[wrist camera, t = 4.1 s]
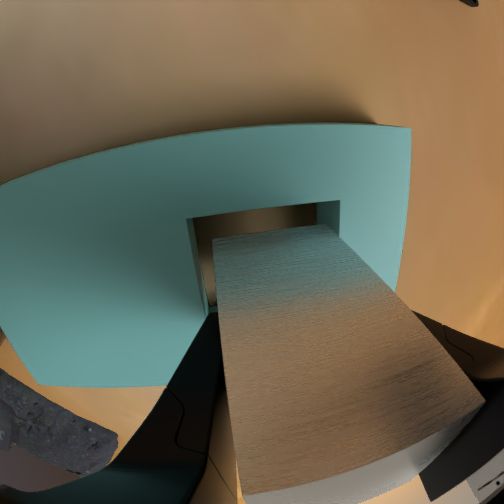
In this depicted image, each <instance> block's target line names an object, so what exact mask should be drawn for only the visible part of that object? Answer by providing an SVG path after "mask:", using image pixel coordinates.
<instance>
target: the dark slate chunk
mask: <svg viewBox="0 0 504 504" xmlns="http://www.w3.org/2000/svg"><path fill="white" fill-rule="evenodd" d="M117 437H118V435H117V434H116V433H115V432H113V431H111V430H109V429H106V428H104V427H102V426H100V425H98V424H96V423H94V422H91V421H89V420H86V419H84V418H82V417H79V416H77V415H75V414H73V413H72V412H71V411H69V410H67V409H65V408H63V407H61V406H60V405H58V404H56V403H54V402H52V401H50V400H48V399H47V398H45V397H44V396H42V395H41V394H39V393H37V392H36V391H34V390H33V389H31V388H30V387H28V386H26V385H24V384H23V383H22V382H20V381H19V380H17V379H15V378H14V377H12V376H10V375H9V374H8V373H6V372H5V371H4V370H2V369H1V368H0V449H1V450H3V451H9V450H10V448H11V446H10V444H11V443H15V444H16V445H17V446H19V447H20V448H22V449H24V450H26V451H27V452H28V453H30V454H33V455H35V456H36V457H37V458H38V459H42V460H44V461H46V462H48V463H50V464H52V465H55V466H58V467H61V468H62V469H65V470H67V471H69V472H71V473H74V474H76V475H79V476H80V477H84V476H86V475H89V474H91V473H94V472H96V471H99V470H101V469H102V468H104V467H105V466H106V465H107V464H108V463H109V462H110V461H111V459H112V456H113V454H114V452H115V450H116V449H117V448H118V441H117Z"/></svg>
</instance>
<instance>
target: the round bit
mask: <svg viewBox="0 0 504 504" xmlns="http://www.w3.org/2000/svg"><path fill="white" fill-rule="evenodd" d="M5 338H6V335H5V334H4V332H3V330H2V328H1V327H0V346H1V344H2V343H3V341H4V340H5Z"/></svg>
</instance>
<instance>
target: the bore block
mask: <svg viewBox="0 0 504 504" xmlns="http://www.w3.org/2000/svg"><path fill="white" fill-rule="evenodd" d="M410 166H411V128H406V127H399V126H391V125H382V124H368V123H287V124H269V125H255V126H243V127H233V128H224V129H216V130H208V131H200V132H193V133H187V134H180V135H174V136H169V137H163V138H158V139H152V140H147V141H142V142H138V143H133V144H128V145H124V146H120V147H115V148H111V149H107V150H103V151H99V152H96V153H92V154H88V155H85V156H81V157H78V158H74V159H71V160H68V161H64V162H61V163H58V164H55V165H52V166H49V167H46V168H43V169H40V170H37V171H34V172H32V173H29V174H26V175H23V176H21V177H18V178H16V179H13V180H11V181H8V182H6V183H3V184H1V185H0V327H1V328H2V330H3V332H4V334H5V335H6V337H7V339H8V340H9V342H10V344H11V345H12V347H13V348H14V350H15V352H16V353H17V355H18V356H19V358H20V359H21V361H22V362H23V364H24V365H25V366H26V368H27V369H28V371H29V372H30V374H31V375H32V376H33V378H34V379H35V380H36V382H37V383H38V384H39V385H49V386H65V387H100V388H110V387H146V386H163V385H167V384H168V383H169V381H170V379H171V377H172V376H173V374H174V372H175V370H176V369H177V367H178V365H179V364H180V362H181V360H182V358H183V357H184V355H185V353H186V351H187V350H188V348H189V346H190V345H191V343H192V341H193V339H194V338H195V336H196V334H197V332H198V331H199V329H200V327H201V326H202V324H203V322H204V320H205V319H206V317H207V315H208V314H209V313H210V312H216V311H218V306H212V307H209V305H208V300H207V296H206V291H205V285H204V280H203V275H202V270H201V265H200V259H199V254H198V248H197V243H196V237H195V231H194V225H193V219H192V218H195V217H202V216H209V215H216V214H223V213H230V212H238V211H246V210H253V209H261V208H270V207H278V206H287V205H296V204H305V203H314V202H317V225H318V224H326V225H327V226H328V227H330V228H331V229H332V230H333V231H334V232H335V233H336V234H337V235H338V236H339V237H340V238H341V239H342V240H343V241H344V242H345V243H346V244H347V245H348V246H349V247H350V248H351V249H352V250H353V251H354V252H355V253H356V254H358V255H359V256H360V257H361V258H362V259H363V260H364V261H365V262H366V263H367V264H368V265H369V267H370V268H371V269H372V270H373V271H374V272H375V273H376V274H377V275H378V276H379V277H380V278H381V279H382V280H383V281H384V282H385V283H386V284H387V285H388V286H389V287H390V288H391V289H392V290H393V291H394V292H395V288H396V283H397V278H398V272H399V267H400V261H401V255H402V248H403V242H404V234H405V226H406V218H407V208H408V197H409V184H410Z"/></svg>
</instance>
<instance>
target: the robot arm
mask: <svg viewBox="0 0 504 504" xmlns="http://www.w3.org/2000/svg"><path fill="white" fill-rule="evenodd" d="M461 1H463V2H464V3H466V4H468V5H470V6H471V7H477V6H478V5H479V4H478V0H461ZM411 311H412V310H411ZM412 312H413V313H414V314H415V315H416V316H417V317H418V319H419V320H420V321H421V322H422V323H423V324H424V325H425V326H426V328H427V329H428V330H429V331H430V332H431V333H432V335H433V336H434V337H435V338H436V339H437V340H438V342H439V343H440V344H441V345H442V346H443V347H444V349H445V350H446V351H447V352H448V353H449V355H450V356H451V357H452V358H453V359H454V361H455V362H456V363H457V364H458V366H459V367H460V368H461V369H462V371H463V372H464V373H465V374H466V376H467V377H468V378H469V379H470V381H471V382H472V383H473V385H474V386H475V387H476V389H477V390H478V391H479V393H480V394H481V395H482V397H483V398H484V399H485V401H486V402H485V403H484V404H483V406H482V407H481V408H480V410H479V411H478V412H477V413H476V415H475V416H474V417H473V418H472V419H471V421H470V422H469V423H468V424H467V425H466V427H465V428H464V429H463V430H462V431H461V432H460V433H459V434H458V436H457V437H456V438H455V439H454V440H453V441H452V442H451V443H450V444H449V445H448V446H447V447H446V448H445V449H444V450H443V451H442V452H441V453H440V454H439V455H438V456H437V457H436V458H435V459H434V460H433V461H432V462H431V463H430V464H429V465H428V466H427V467H426V468H425V469H423V470H422V471H421V472H420V473H419V476H420V478H421V481H422V483H423V485H424V488H425V490H426V492H427V495H428V497H429V499H430V501H431V502H432V501H434V500H435V499H437V498H439V497H440V496H442V495H443V494H445V493H447V492H448V491H450V490H451V489H453V488H454V487H456V486H457V485H459V484H460V483H462V482H463V481H464V480H467V482H468V484H469V486H470V488H471V489H472V491H473V493H474V495H475V497H477V499H478V501H479V504H504V348H501V347H498V346H496V345H493V344H490V343H487V342H485V341H482V340H479V339H476V338H474V337H471V336H469V335H466V334H463V333H461V332H459V331H457V330H454V329H452V328H450V327H448V326H446V325H442V324H441V323H439V322H437V321H434V320H432V319H430V318H428V317H426V316H423V315H421V314H419V313H417V312H415V311H412ZM166 387H167V388H165V389H164V391H163V393H162V394H161V396H160V398H159V399H158V401H157V403H156V404H155V406H154V408H153V409H152V411H151V412H150V413H149V415H148V416H147V418H146V419H145V420H144V422H143V423H142V425H141V426H140V427H139V428H138V430H137V431H136V432H135V434H134V435H133V436H132V437H131V439H130V440H129V441H128V443H127V444H126V445H125V446H124V448H123V449H122V450H121V452H120V453H119V454H118V455H117V456H116V458H115V459H114V460H113V461H112V462H111V463H109V464H108V465H107V466H106V467H104V468H102V469H101V470H99V471H96V472H94V473H91V474H89V475H86V476H84V477H81V478H79V479H76V480H73V481H71V482H68V483H65V484H62V485H59V486H56V487H53V488H50V489H47V490H43V491H39V492H24V491H20V490H17V489H15V488H12V487H10V486H7V485H4V484H1V485H0V504H238V503H237V479H236V454H235V447H234V441H233V434H232V427H231V419H230V412H229V404H228V396H227V388H226V380H225V372H224V363H223V354H222V345H221V335H220V325H219V315H218V311H216V312H210V313H209V314H208V315H207V317H206V319H205V320H204V322H203V324H202V326H201V327H200V329H199V331H198V332H197V334H196V336H195V338H194V339H193V341H192V343H191V345H190V346H189V348H188V350H187V351H186V353H185V355H184V357H183V358H182V360H181V362H180V364H179V365H178V367H177V369H176V370H175V372H174V374H173V376H172V377H171V379H170V381H169V383H168V384H167V386H166Z"/></svg>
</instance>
